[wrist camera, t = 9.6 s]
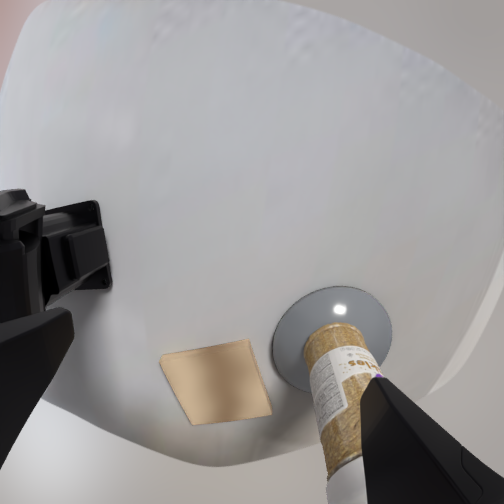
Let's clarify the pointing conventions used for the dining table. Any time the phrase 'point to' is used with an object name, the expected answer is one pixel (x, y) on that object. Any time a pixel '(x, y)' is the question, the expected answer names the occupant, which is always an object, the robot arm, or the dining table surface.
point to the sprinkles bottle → (340, 405)
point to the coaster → (322, 313)
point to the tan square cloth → (218, 383)
